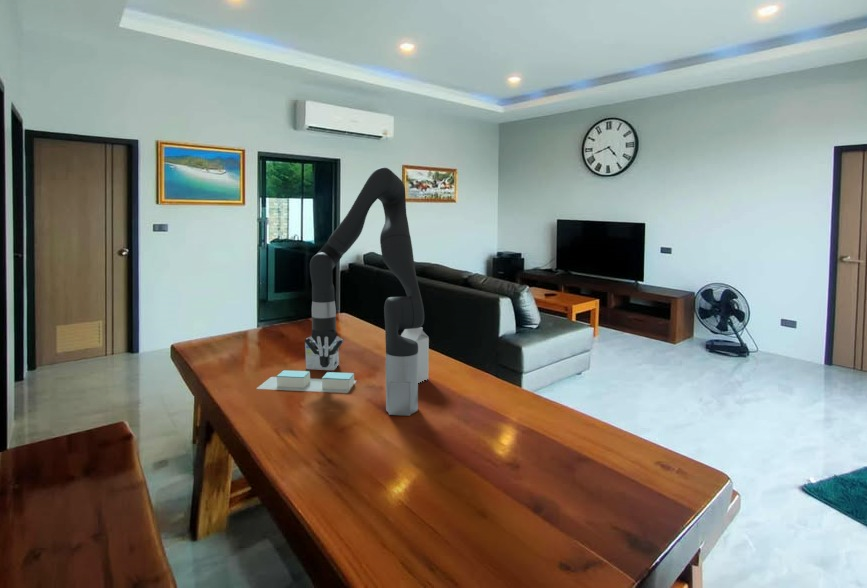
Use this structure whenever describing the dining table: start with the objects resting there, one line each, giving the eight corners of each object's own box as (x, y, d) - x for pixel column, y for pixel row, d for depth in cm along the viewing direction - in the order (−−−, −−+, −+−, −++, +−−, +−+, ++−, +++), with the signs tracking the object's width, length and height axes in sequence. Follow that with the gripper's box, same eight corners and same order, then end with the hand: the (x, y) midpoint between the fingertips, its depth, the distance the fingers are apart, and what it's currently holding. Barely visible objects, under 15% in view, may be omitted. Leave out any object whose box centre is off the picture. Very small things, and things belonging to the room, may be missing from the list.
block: (322, 388, 166) (349, 389, 165) (321, 377, 166) (349, 379, 165) (327, 382, 172) (354, 383, 171) (327, 372, 171) (354, 373, 171)
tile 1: (277, 386, 168) (304, 387, 167) (276, 376, 167) (303, 377, 166) (284, 380, 173) (310, 381, 173) (283, 370, 173) (309, 371, 172)
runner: (347, 393, 162) (347, 392, 162) (256, 389, 165) (256, 388, 165) (357, 380, 174) (356, 380, 174) (271, 377, 177) (271, 376, 177)
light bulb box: (339, 365, 191) (338, 337, 189) (334, 371, 185) (333, 341, 183) (311, 364, 192) (310, 336, 190) (305, 369, 186) (304, 340, 184)
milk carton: (415, 385, 170) (415, 329, 167) (399, 380, 175) (399, 326, 172) (428, 379, 176) (429, 325, 173) (412, 375, 180) (412, 322, 177)
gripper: (299, 316, 162) (301, 369, 165) (340, 317, 161) (341, 371, 164) (307, 311, 169) (309, 362, 172) (347, 313, 168) (347, 364, 171)
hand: (325, 366), depth 168 cm, fingers closed
